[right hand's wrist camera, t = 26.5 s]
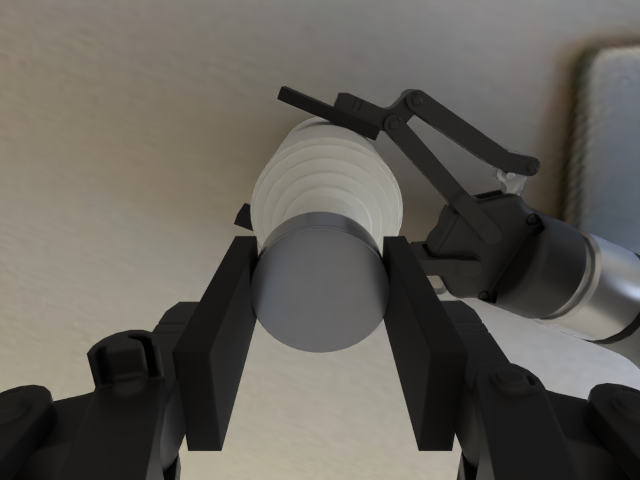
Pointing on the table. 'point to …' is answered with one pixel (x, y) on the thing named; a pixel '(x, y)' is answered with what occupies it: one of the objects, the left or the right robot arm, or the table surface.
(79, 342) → the table surface
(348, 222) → the cap
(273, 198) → the bottle
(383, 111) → the left robot arm
